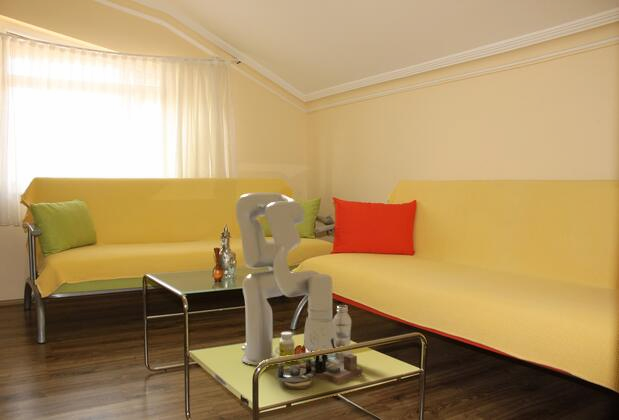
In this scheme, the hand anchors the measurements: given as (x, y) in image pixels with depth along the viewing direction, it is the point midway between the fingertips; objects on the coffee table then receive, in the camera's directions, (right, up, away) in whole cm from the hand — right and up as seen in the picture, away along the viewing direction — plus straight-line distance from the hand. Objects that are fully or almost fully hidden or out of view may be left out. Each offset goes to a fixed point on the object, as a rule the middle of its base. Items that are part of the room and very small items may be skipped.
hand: (320, 372), depth 167 cm
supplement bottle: (-12, -3, +25) cm, 27 cm away
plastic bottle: (+8, -3, +22) cm, 24 cm away
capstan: (-8, -4, +1) cm, 9 cm away
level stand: (+3, -4, +11) cm, 12 cm away
